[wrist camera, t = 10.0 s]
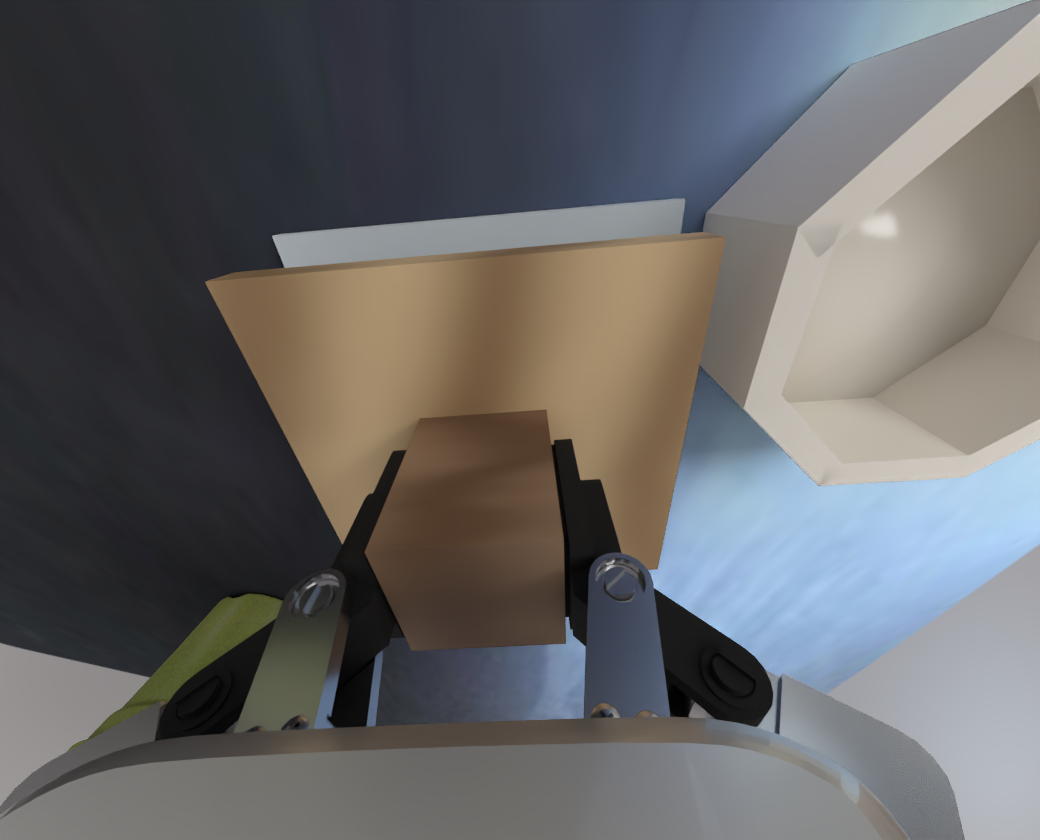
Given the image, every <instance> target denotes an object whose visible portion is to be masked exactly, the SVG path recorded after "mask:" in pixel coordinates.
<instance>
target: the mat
mask: <svg viewBox="0 0 1040 840" xmlns="http://www.w3.org/2000/svg"><path fill="white" fill-rule="evenodd" d="M685 201H686V199H682V198H676V199H665V200H654V201H643V202H631V203H620V204H609V205H598V206H587V207H576V208H564V209H553V210H542V211H531V212H520V213H509V214H497V215H486V216H475V217H464V218H453V219H442V220H430V221H419V222H408V223H397V224H386V225H375V226H363V227H352V228H341V229H330V230H319V231H308V232H296V233H285V234H278V235H274V236H272V238H273V240H274V243H275V245H276V247H277V250H278V252H279V255H280V257H281V260H282V262H283V265H284V267H285V268H290V267H302V266H313V265H325V264H336V263H348V262H360V261H371V260H383V259H394V258H406V257H418V256H429V255H441V254H452V253H464V252H476V251H487V250H499V249H510V248H522V247H533V246H545V245H557V244H568V243H580V242H591V241H603V240H615V239H626V238H638V237H649V236H661V235H673V234H681V228H682V222H683V215H684V208H685Z"/></svg>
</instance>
